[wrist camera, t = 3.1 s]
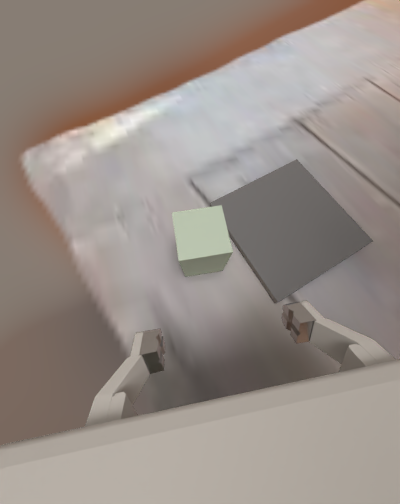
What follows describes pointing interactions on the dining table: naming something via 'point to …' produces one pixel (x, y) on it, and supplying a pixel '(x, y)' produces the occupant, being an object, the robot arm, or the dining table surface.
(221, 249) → the block
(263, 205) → the board
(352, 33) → the dining table surface
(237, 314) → the dining table surface
